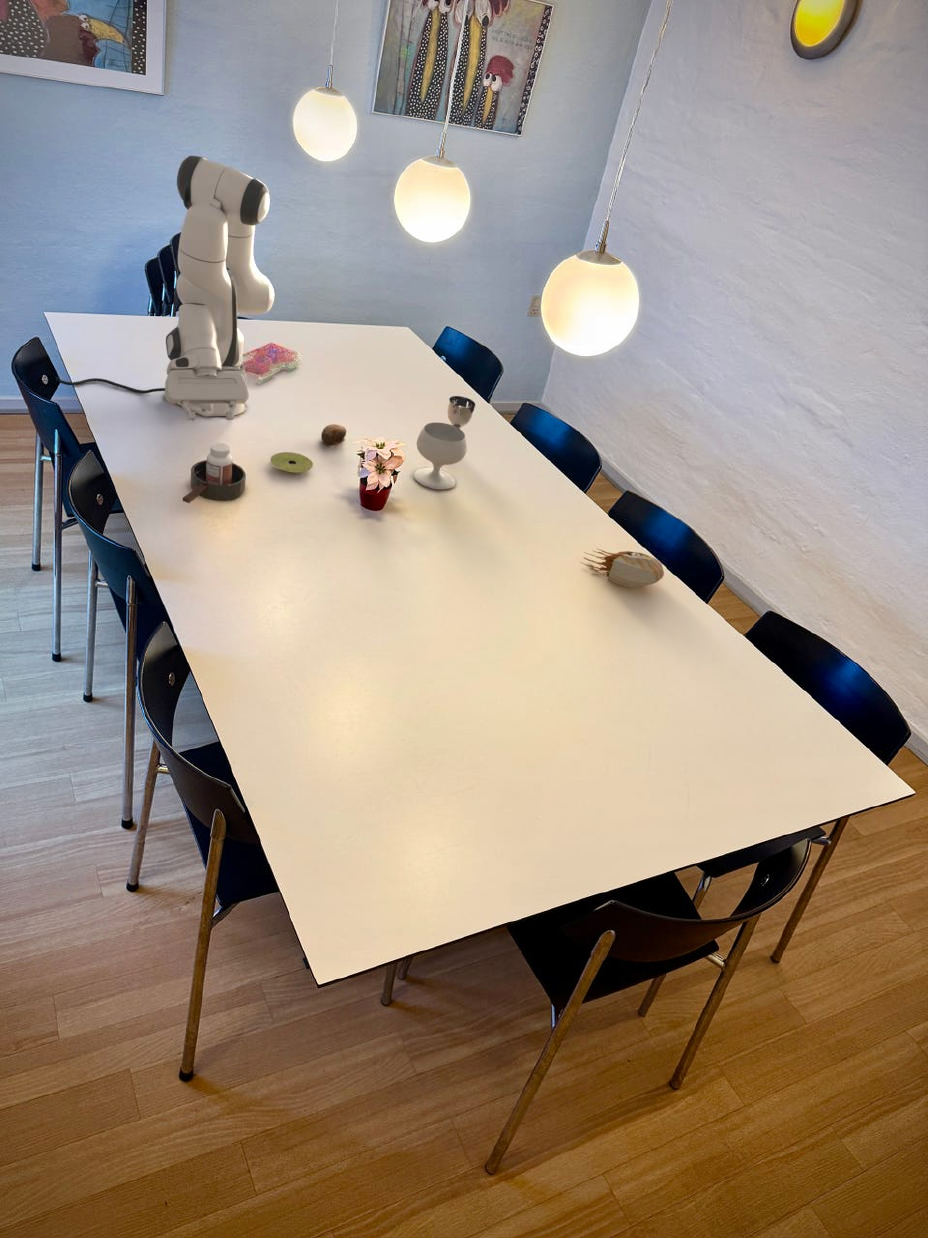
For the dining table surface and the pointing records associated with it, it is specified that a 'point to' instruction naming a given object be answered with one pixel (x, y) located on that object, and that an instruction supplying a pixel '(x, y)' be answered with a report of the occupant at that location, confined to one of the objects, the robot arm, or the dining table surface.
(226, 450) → the pill bottle
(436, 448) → the chalice
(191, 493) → the pan handle
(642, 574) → the nautilus
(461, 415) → the wine glass
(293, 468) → the green disc
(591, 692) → the dining table surface
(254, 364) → the pink mottled wavy slab
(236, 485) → the pan
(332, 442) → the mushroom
